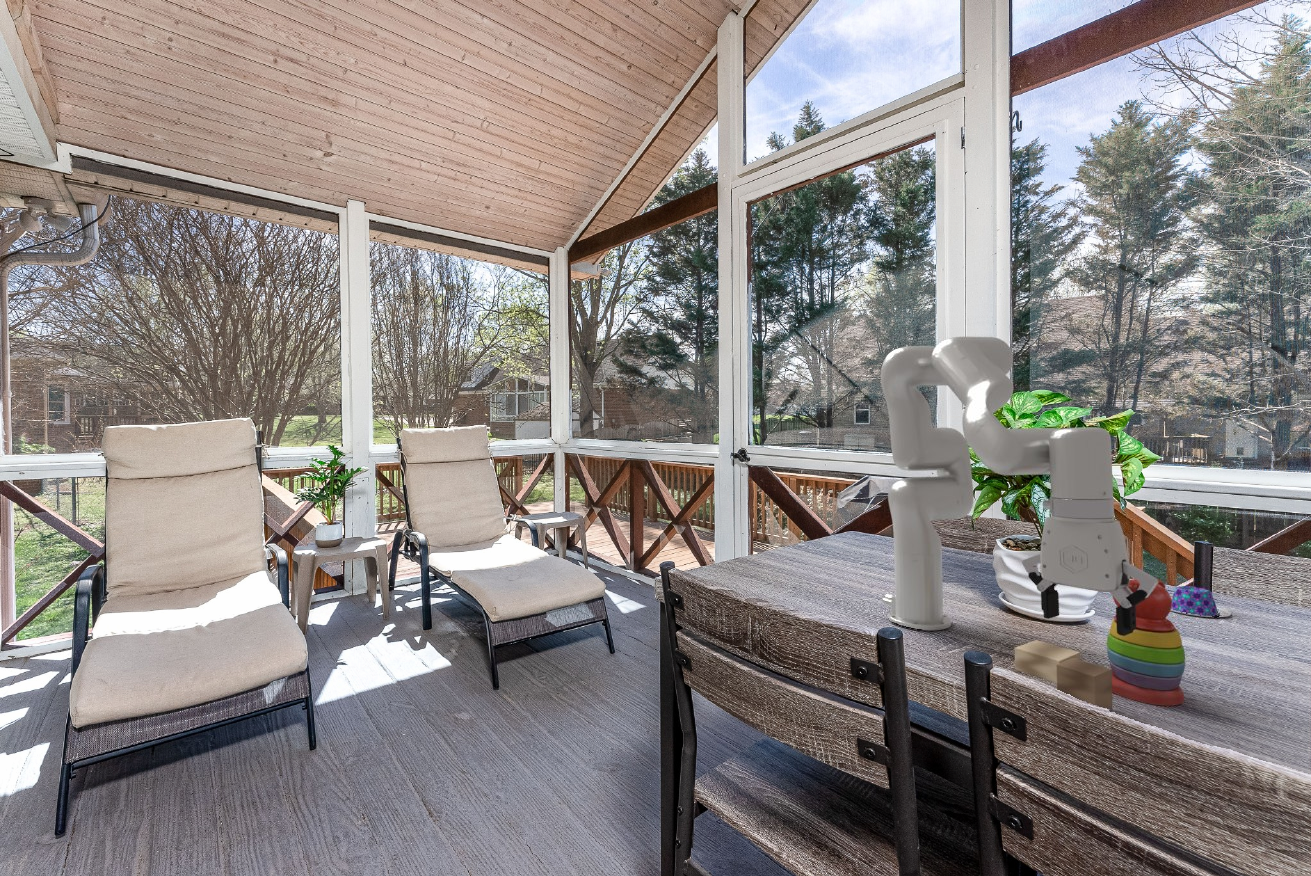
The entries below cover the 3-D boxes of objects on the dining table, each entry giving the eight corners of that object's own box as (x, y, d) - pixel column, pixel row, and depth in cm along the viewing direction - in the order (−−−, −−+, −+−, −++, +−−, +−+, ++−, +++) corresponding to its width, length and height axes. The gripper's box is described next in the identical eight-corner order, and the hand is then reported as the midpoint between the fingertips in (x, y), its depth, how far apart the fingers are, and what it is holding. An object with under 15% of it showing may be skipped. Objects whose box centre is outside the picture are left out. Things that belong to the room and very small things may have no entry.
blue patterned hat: (1147, 608, 133) (1146, 586, 133) (1174, 601, 138) (1173, 579, 138) (1215, 623, 122) (1215, 598, 122) (1241, 614, 127) (1241, 591, 127)
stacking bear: (1148, 677, 96) (1146, 570, 96) (1208, 705, 86) (1206, 586, 86) (1084, 679, 95) (1083, 572, 95) (1138, 708, 85) (1136, 588, 85)
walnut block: (1057, 704, 87) (1056, 664, 87) (1074, 696, 90) (1074, 657, 90) (1095, 717, 83) (1094, 676, 83) (1112, 709, 85) (1111, 669, 85)
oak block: (1014, 670, 100) (1014, 647, 100) (1036, 661, 104) (1036, 639, 104) (1059, 685, 94) (1059, 661, 94) (1080, 675, 98) (1080, 652, 97)
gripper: (1008, 507, 92) (1012, 615, 91) (1140, 517, 77) (1145, 646, 76) (1035, 504, 95) (1039, 607, 95) (1166, 513, 80) (1171, 636, 80)
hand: (1086, 624), depth 86 cm, fingers open, 9 cm apart
